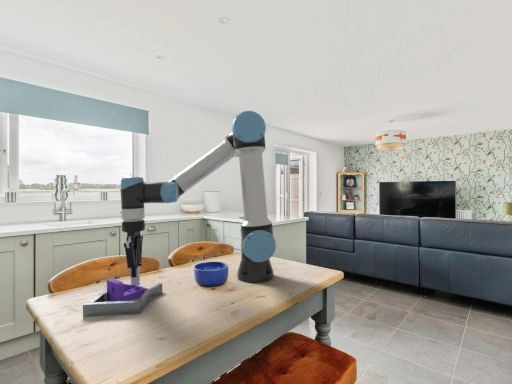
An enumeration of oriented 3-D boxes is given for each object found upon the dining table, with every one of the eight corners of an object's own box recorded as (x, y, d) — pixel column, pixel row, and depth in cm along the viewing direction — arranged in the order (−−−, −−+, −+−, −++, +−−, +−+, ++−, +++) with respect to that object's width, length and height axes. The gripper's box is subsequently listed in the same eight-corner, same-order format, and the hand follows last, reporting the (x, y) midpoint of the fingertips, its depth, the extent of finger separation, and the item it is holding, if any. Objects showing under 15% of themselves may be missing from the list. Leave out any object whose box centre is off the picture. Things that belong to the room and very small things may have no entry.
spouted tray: (162, 291, 101) (162, 281, 101) (147, 313, 82) (147, 301, 82) (104, 293, 99) (104, 284, 99) (75, 317, 80) (75, 305, 80)
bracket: (117, 305, 89) (117, 283, 89) (107, 300, 93) (106, 280, 93) (151, 293, 99) (150, 274, 99) (139, 290, 103) (139, 271, 103)
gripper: (129, 218, 106) (131, 279, 107) (114, 222, 93) (117, 292, 94) (149, 217, 107) (151, 278, 107) (138, 222, 94) (140, 291, 95)
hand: (135, 284), depth 101 cm, fingers closed
